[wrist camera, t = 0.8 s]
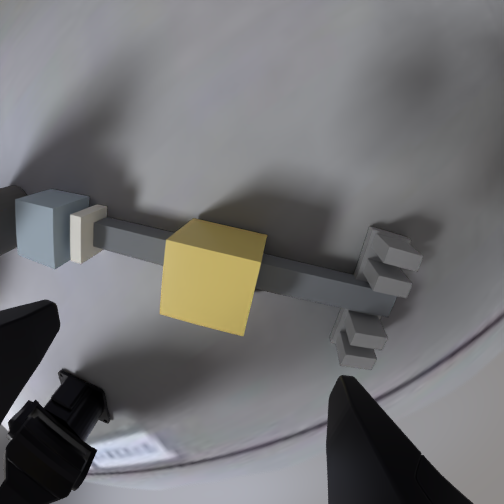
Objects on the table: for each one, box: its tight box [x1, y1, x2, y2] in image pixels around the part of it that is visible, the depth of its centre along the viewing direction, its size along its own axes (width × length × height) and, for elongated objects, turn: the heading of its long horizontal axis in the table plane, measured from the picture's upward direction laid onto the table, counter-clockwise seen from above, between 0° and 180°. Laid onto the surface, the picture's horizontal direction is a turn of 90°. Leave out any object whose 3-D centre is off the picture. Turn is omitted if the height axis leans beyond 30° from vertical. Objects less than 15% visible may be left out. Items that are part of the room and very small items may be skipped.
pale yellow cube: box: [160, 218, 267, 336], centre depth 18 cm, size 5×5×5 cm
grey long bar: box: [15, 189, 397, 317], centre depth 19 cm, size 28×4×4 cm, turn 78°
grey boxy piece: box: [330, 226, 423, 370], centre depth 19 cm, size 3×9×4 cm, turn 168°
